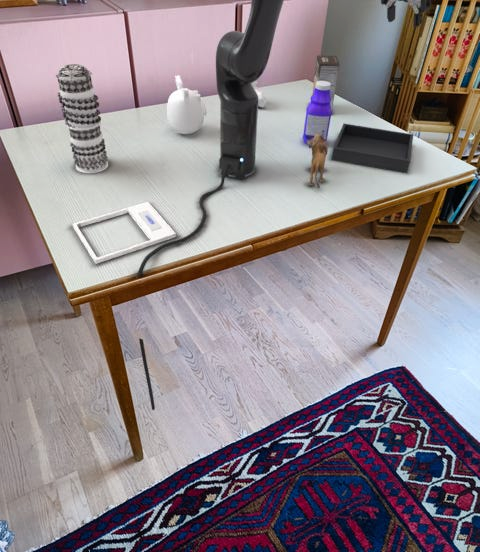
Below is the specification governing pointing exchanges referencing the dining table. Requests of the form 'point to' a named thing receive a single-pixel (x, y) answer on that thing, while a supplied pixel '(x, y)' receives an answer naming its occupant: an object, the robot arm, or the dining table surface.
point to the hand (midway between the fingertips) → (404, 23)
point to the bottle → (318, 112)
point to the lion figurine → (317, 157)
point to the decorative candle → (82, 118)
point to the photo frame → (147, 222)
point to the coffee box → (327, 73)
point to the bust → (259, 95)
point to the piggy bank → (185, 109)
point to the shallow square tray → (373, 147)
